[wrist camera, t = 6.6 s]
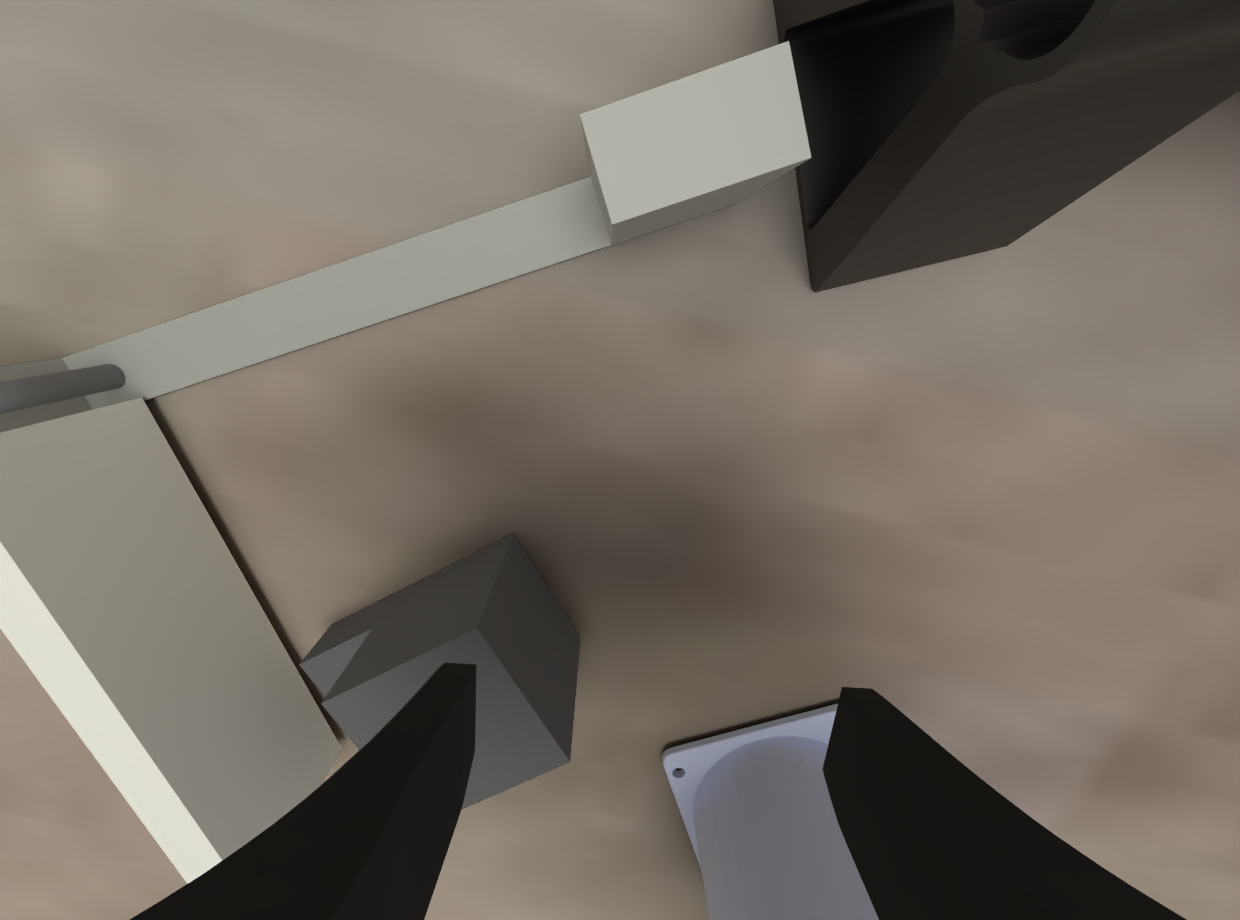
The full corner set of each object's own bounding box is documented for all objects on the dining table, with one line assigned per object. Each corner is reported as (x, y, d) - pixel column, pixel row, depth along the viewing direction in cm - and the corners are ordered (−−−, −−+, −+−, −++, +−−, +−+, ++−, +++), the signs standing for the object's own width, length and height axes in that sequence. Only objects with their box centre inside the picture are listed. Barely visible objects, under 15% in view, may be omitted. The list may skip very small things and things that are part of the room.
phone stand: (768, -39, 16) (1168, -845, 5) (986, -97, 16) (2007, -1116, 4) (809, 292, 19) (1128, 311, 7) (997, 248, 18) (1644, 194, 7)
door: (273, 767, 23) (162, 927, 17) (59, 424, 19) (-179, 487, 13) (341, 748, 23) (252, 903, 17) (142, 397, 19) (-66, 448, 13)
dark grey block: (580, 638, 22) (569, 761, 17) (406, 719, 23) (339, 863, 18) (513, 532, 21) (476, 628, 15) (331, 624, 22) (232, 746, 16)
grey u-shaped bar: (735, 204, 18) (811, 157, 11) (-6, 450, 20) (-322, 538, 13) (719, 133, 17) (789, 40, 10) (-43, 395, 19) (-394, 457, 12)
